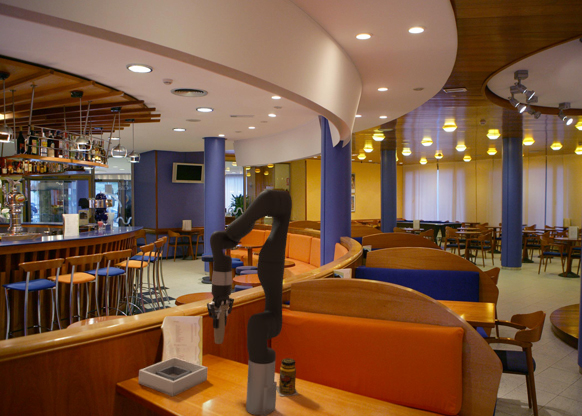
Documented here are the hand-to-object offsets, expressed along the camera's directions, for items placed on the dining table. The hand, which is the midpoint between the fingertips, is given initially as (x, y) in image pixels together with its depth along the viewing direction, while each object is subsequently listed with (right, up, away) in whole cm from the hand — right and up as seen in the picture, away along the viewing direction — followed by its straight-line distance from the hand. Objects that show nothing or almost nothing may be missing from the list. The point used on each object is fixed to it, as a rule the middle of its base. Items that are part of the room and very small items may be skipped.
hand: (219, 326), depth 166 cm
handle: (0, -6, 0) cm, 6 cm away
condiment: (+26, -24, -3) cm, 35 cm away
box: (-18, -21, 0) cm, 28 cm away
